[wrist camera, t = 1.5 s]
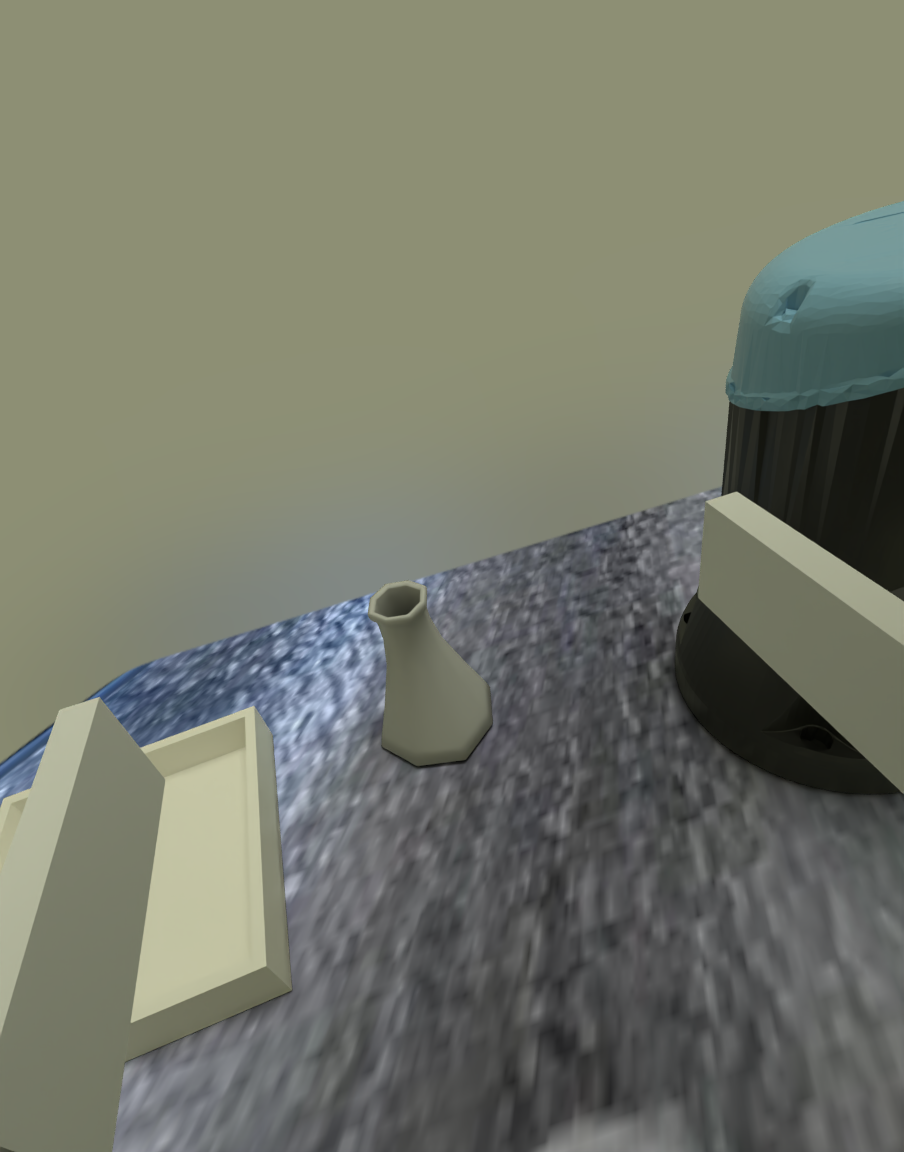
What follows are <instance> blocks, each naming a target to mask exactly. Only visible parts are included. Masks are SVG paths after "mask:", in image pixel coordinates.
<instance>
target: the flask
mask: <svg viewBox="0 0 904 1152" xmlns="http://www.w3.org/2000/svg"><path fill="white" fill-rule="evenodd" d="M368 616H369V618H370V620H372V621H374V622H376V623H377V624H378V626H379V628H380V631H381V634H382V637H383V639H384V647H385V654H386V662H387V673H386V694H385V708H384V719H383V730H382V745H381V746H382V747H384V748H385V749H387V750H389V751H391V752H393V753H394V754H396V755H398V756H400V757H402V758H403V759H405V760H407V761H409V762H411V763H412V764H414V765H416V766H422V765H430V764H438V763H445V762H453V761H461V760H466V759H467V758H468V756H469V755H470V754H471V752H472V751H473V749H474V748H475V747H476V745H477V744H478V743H479V741H480V740H481V739H482V737H483V736H484V735H485V733H486V732H487V731H488V729H489V728H490V726H491V725H492V724H493V719H492V706H491V693H490V686H489V685H488V684H487V683H486V682H485V681H484V680H483V679H482V678H481V677H480V676H479V675H478V674H477V673H476V672H475V671H474V670H473V669H472V668H471V667H470V666H469V665H468V664H467V663H466V662H465V661H464V660H463V659H462V658H461V657H460V656H459V655H458V654H457V653H456V652H455V651H454V650H453V649H452V647H451V646H450V645H449V644H448V643H447V642H446V641H445V640H444V639H443V638H442V637H441V635H440V633H439V631H438V630H437V628H436V626H435V625H434V623H433V621H432V620H431V618H430V616H429V613H428V610H427V588H426V586H424V585H421V584H418V583H415V582H412V581H409V580H406V581H401V582H395V583H389V584H385V585H384V586H383V587H382V588H381V589H380V590H379V591H377V592H376V593H375V594H374V595H373V596H372V597H371V598H370V603H369V609H368Z"/></svg>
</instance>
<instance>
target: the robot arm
mask: <svg viewBox="0 0 904 1152" xmlns="http://www.w3.org/2000/svg"><path fill="white" fill-rule="evenodd" d="M726 394H727V395H728V398H729V401H730V402H729V414H728V426H727V437H726V449H725V460H724V473H723V484H722V494H721V497H718V498H715V499H712V500H709V501H706V502H705V514H704V527H703V540H702V552H701V565H700V578H699V586H698V589H697V593H696V594H695V595H694V596H693V597H692V599H691V600H690V602H689V603H688V605H687V607H686V608H685V610H684V612H683V614H682V617H681V619H680V622H679V626H678V630H677V635H676V652H675V671H676V677H677V682H678V685H679V688H680V691H681V693H682V695H683V698H684V699H685V701H686V703H687V705H688V707H689V708H690V710H691V711H692V713H693V714H694V715H695V717H696V718H697V719H698V720H699V722H700V723H701V724H702V725H703V726H704V727H705V728H706V729H707V730H708V731H709V732H710V733H711V734H712V735H713V736H714V737H715V738H716V739H717V740H719V741H720V742H721V743H722V744H724V745H725V746H726V747H728V748H729V749H730V750H732V751H733V752H735V753H736V754H738V755H739V756H741V757H742V758H744V759H746V760H747V761H749V762H751V763H753V764H755V765H756V766H758V767H760V768H762V769H764V770H767V771H769V772H771V773H773V774H776V775H778V776H781V777H783V778H786V779H789V780H792V781H795V782H798V783H801V784H805V785H808V786H812V787H816V788H821V789H825V790H831V791H837V792H845V793H856V794H886V793H897V792H902V793H903V794H904V201H902V202H899V203H896V204H892V205H888V206H885V207H882V208H879V209H875V210H872V211H869V212H866V213H864V214H861V215H858V216H855V217H852V218H849V219H847V220H844V221H842V222H839V223H837V224H834V225H832V226H830V227H828V228H826V229H822V230H820V231H818V232H816V233H814V234H812V235H810V236H808V237H806V238H804V239H802V240H801V241H799V242H797V243H795V244H794V245H792V246H790V247H789V248H787V249H786V250H784V251H783V252H782V253H781V254H779V255H778V256H776V257H775V258H774V259H773V260H772V261H771V262H770V263H768V264H767V265H766V266H765V267H764V268H763V270H762V271H761V272H760V273H759V274H758V275H757V277H756V278H755V280H754V281H753V283H752V285H751V286H750V288H749V290H748V292H747V294H746V296H745V299H744V302H743V306H742V310H741V316H740V323H739V329H738V336H737V342H736V348H735V354H734V361H733V366H732V368H731V369H730V371H729V374H728V376H727V379H726ZM164 787H165V779H164V777H163V776H162V775H161V774H160V772H159V771H158V770H157V769H156V767H155V766H154V765H153V764H152V762H151V761H150V760H149V759H148V757H147V756H146V755H145V754H144V752H143V751H142V750H141V749H140V747H139V746H138V745H137V744H136V742H135V741H134V740H133V739H132V737H131V736H130V735H129V734H128V732H127V731H126V730H125V729H124V727H123V726H122V725H121V724H120V722H119V721H118V720H117V719H116V717H115V716H114V715H113V714H112V712H111V711H110V710H109V709H108V707H107V706H106V705H105V704H104V702H103V701H102V700H101V699H100V697H98V698H95V699H92V700H89V701H86V702H83V703H80V704H77V705H73V706H70V707H67V708H64V709H61V710H59V712H58V715H57V718H56V721H55V723H54V726H53V729H52V732H51V735H50V737H49V740H48V743H47V746H46V748H45V751H44V754H43V757H42V760H41V762H40V765H39V768H38V771H37V774H36V776H35V779H34V782H33V785H32V787H31V790H30V793H29V796H28V799H27V801H26V804H25V807H24V810H23V812H22V815H21V818H20V821H19V824H18V826H17V829H16V832H15V835H14V837H13V840H12V843H11V846H10V849H9V851H8V854H7V857H6V860H5V862H4V865H3V868H2V871H1V874H0V1152H112V1149H113V1142H114V1135H115V1128H116V1121H117V1114H118V1107H119V1100H120V1093H121V1086H122V1079H123V1072H124V1065H125V1058H126V1051H127V1044H128V1037H129V1030H130V1023H131V1016H132V1009H133V1002H134V995H135V989H136V982H137V975H138V968H139V961H140V954H141V947H142V940H143V933H144V926H145V919H146V912H147V905H148V898H149V891H150V884H151V877H152V870H153V863H154V856H155V849H156V842H157V835H158V828H159V821H160V814H161V807H162V801H163V794H164Z"/></svg>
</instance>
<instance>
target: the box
mask: <svg viewBox="0 0 904 1152" xmlns="http://www.w3.org/2000/svg"><path fill="white" fill-rule="evenodd" d="M140 749H141V750H142V751H143V752H144V754H145V755H146V756H147V757H148V759H149V760H150V761H151V762H152V764H153V765H154V766H155V767H156V769H157V770H158V771H159V772H160V774H161V775H162V776H163V777H164V779H165V787H164V794H163V801H162V807H161V814H160V821H159V828H158V835H157V842H156V849H155V856H154V863H153V870H152V877H151V884H150V891H149V898H148V905H147V912H146V919H145V926H144V933H143V940H142V947H141V954H140V961H139V968H138V975H137V982H136V989H135V995H134V1002H133V1009H132V1016H131V1023H130V1030H129V1037H128V1044H127V1051H126V1058H125V1062H126V1061H129V1060H131V1059H133V1058H136V1057H138V1056H140V1055H143V1054H145V1053H147V1052H150V1051H152V1050H154V1049H157V1048H159V1047H161V1046H164V1045H166V1044H168V1043H171V1042H173V1041H175V1040H177V1039H180V1038H182V1037H184V1036H187V1035H189V1034H191V1033H194V1032H196V1031H198V1030H201V1029H203V1028H205V1027H208V1026H210V1025H212V1024H215V1023H217V1022H219V1021H222V1020H224V1019H226V1018H229V1017H231V1016H233V1015H236V1014H238V1013H240V1012H243V1011H245V1010H247V1009H250V1008H252V1007H254V1006H257V1005H259V1004H261V1003H264V1002H266V1001H268V1000H271V999H273V998H275V997H278V996H280V995H282V994H285V993H287V992H289V991H292V981H291V968H290V955H289V942H288V929H287V915H286V902H285V889H284V876H283V863H282V850H281V837H280V824H279V811H278V798H277V785H276V771H275V758H274V745H273V735H272V733H271V732H270V730H269V728H268V727H267V725H266V724H265V722H264V721H263V719H262V717H261V716H260V714H259V713H258V711H257V710H256V708H255V706H253V707H250V708H247V709H245V710H242V711H239V712H236V713H234V714H231V715H228V716H226V717H223V718H220V719H218V720H215V721H212V722H209V723H207V724H204V725H201V726H199V727H196V728H193V729H190V730H188V731H185V732H182V733H180V734H177V735H174V736H172V737H169V738H166V739H163V740H161V741H158V742H155V743H153V744H150V745H147V746H144V747H142V748H140ZM30 790H31V789H28V790H25V791H23V792H20V793H17V794H15V795H12V796H9V797H6V798H4V799H3V802H2V805H1V808H0V874H1V871H2V868H3V865H4V862H5V860H6V857H7V854H8V851H9V849H10V846H11V843H12V840H13V837H14V835H15V832H16V829H17V826H18V824H19V821H20V818H21V815H22V812H23V810H24V807H25V804H26V801H27V799H28V796H29V793H30Z"/></svg>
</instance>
